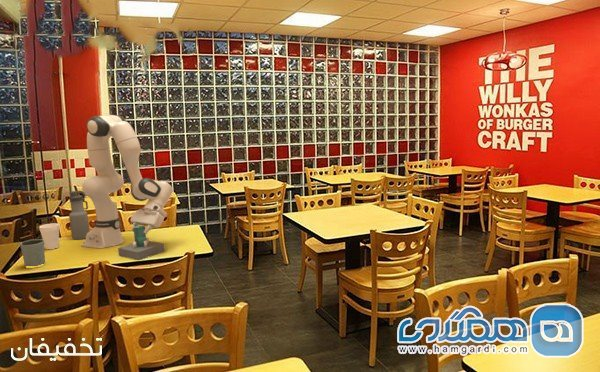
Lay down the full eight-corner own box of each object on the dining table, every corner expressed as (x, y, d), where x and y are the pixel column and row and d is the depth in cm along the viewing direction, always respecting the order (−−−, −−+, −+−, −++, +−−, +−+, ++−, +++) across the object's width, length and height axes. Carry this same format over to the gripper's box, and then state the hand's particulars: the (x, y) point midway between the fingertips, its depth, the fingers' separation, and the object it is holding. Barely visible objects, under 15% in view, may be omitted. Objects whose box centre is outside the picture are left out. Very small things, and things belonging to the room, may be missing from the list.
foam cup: (41, 252, 243) (38, 228, 241) (43, 247, 251) (40, 224, 249) (61, 249, 247) (58, 226, 244) (62, 244, 255) (59, 222, 253)
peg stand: (118, 255, 231) (117, 242, 230) (145, 247, 244) (143, 234, 243) (138, 260, 222) (137, 246, 221) (164, 251, 235) (163, 238, 234)
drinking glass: (36, 261, 227) (32, 238, 225) (52, 262, 224) (49, 239, 222) (18, 268, 217) (14, 244, 215) (35, 269, 215) (31, 245, 213)
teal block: (135, 246, 232) (133, 227, 231) (141, 244, 235) (139, 225, 234) (140, 247, 230) (138, 228, 228) (146, 245, 233) (144, 226, 232)
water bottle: (82, 234, 276) (76, 189, 271) (94, 235, 272) (88, 189, 267) (68, 239, 266) (62, 192, 262) (80, 240, 263) (74, 193, 258)
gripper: (136, 204, 241) (121, 226, 234) (161, 207, 229) (147, 231, 223) (143, 211, 245) (130, 232, 239) (169, 214, 234) (155, 237, 228)
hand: (138, 232), depth 231 cm, fingers open, 8 cm apart
